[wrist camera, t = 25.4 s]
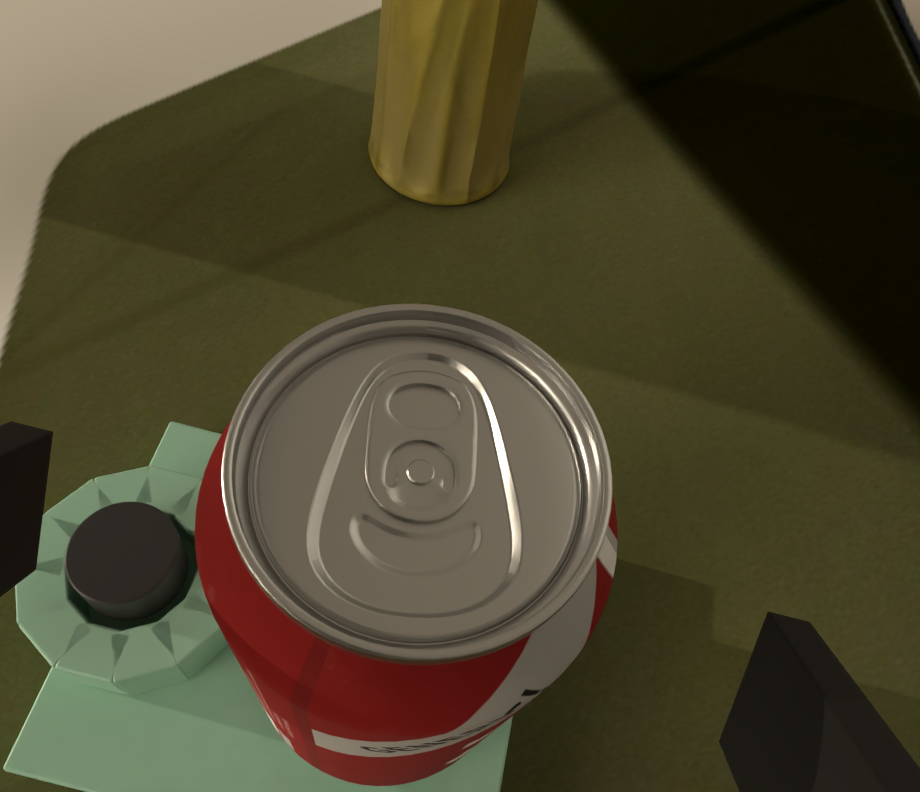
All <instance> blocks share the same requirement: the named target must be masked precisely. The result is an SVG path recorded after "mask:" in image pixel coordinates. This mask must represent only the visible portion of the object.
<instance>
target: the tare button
mask: <svg viewBox="0 0 920 792" xmlns="http://www.w3.org/2000/svg"><path fill="white" fill-rule="evenodd" d="M188 564H189V562H188V554H187V550H186V548H185V545H184V543H183V541H182V540H181V538H180V536H179V534H178V532H177V530H176V528H175V526H174V524H173V523H172V521H171V520H170V519H169V517H168V516H167V515H166V514H165V513H164V512H162V511H161V510H159V509H158V508H156V507H154V506H152V505H149V504H146V503H141V502H120V503H115V504H112V505H109V506H106V507H103V508H101V509H99V510H98V511H96V512H94V513H93V514H91V515H90V516H89V517H87V518H86V519H85V520H84V521H83V522H82V523H81V524H80V525H79V526H78V527H77V529H76V530H75V531H74V533H73V535H72V536H71V538H70V540H69V543H68V545H67V549H66V552H65V571H66V575H67V578H68V580H69V582H70V584H71V585H72V587H73V588H74V589H75V590H76V591H77V592H78V593H79V594H80V595H81V596H82V597H83V598H84V599H85V600H86V601H87V602H88V603H89V604H90V605H91V606H92V607H93V608H94V609H95V610H96V611H98V612H99V613H100V614H102V615H104V616H106V617H109V618H112V619H116V620H126V621H128V620H137V619H142V618H145V617H148V616H150V615H153V614H155V613H157V612H158V611H160V610H162V609H163V608H164V607H166V606H167V605H168V604H169V603H170V602H171V601H172V600H173V599H174V598H175V597H176V596H177V595H178V593H179V592H180V590H181V589H182V587H183V585H184V582H185V580H186V577H187V573H188Z"/></svg>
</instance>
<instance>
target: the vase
mask: <svg viewBox="0 0 920 792" xmlns="http://www.w3.org/2000/svg"><path fill="white" fill-rule="evenodd" d="M537 1H538V0H382V8H381V21H380V35H379V49H378V65H377V77H376V87H375V97H374V108H373V119H372V130H371V135H370V139H369V142H368V150H369V155H370V158H371V162H372V164H373V166H374V169H375V170H376V172H377V174H378V175H379V176H380V177H381V178H382V180H383V181H384V182H386V183H387V184H388V185H389V186H390V187H391V188H393V189H394V190H395V191H397V192H398V193H400V194H402V195H404V196H406V197H409V198H411V199H414V200H416V201H420V202H423V203H428V204H433V205H461V204H467V203H470V202H474V201H476V200H479V199H481V198H484V197H486V196H487V195H489V194H490V193H492V192H493V191H494V190H495V189H497V188H498V186H499V185H500V184H501V183H502V181H503V180H504V178H505V177H506V175H507V172H508V170H509V153H510V147H511V142H512V137H513V131H514V126H515V121H516V116H517V112H518V106H519V101H520V95H521V90H522V83H523V77H524V70H525V63H526V57H527V51H528V46H529V41H530V36H531V32H532V27H533V23H534V18H535V13H536V7H537Z"/></svg>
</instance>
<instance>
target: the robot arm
mask: <svg viewBox="0 0 920 792" xmlns="http://www.w3.org/2000/svg"><path fill="white" fill-rule="evenodd" d="M52 435H53V432H51V431H47V430H43V429H39V428H35V427H31V426H27V425H23V424H20V423H16V422H12V421H11V422H9V423H6V424H4V425H1V426H0V597H1V596H2V595H3V594H5V593H6V592H7V591H9V590H10V589H11V588H13V587H14V586H15V585H17V584H18V583H19V582H21V581H22V580H23V579H25V578H26V577H27V576H28V575H30V574H31V573H32V572H34V571H35V570H36V566H37V558H38V550H39V542H40V534H41V525H42V517H43V509H44V501H45V493H46V484H47V476H48V468H49V460H50V452H51V443H52ZM719 743H720V745H721V747H722V750H723V752H724V755H725V757H726V760H727V762H728V765H729V767H730V770H731V772H732V774H733V777H734V779H735V782H736V784H737V787H738V789H739V792H920V768H919V767H918V766H917V764H916V763H915V762H914V760H913V759H912V758H911V756H910V755H909V754H908V752H907V751H906V750H905V748H904V747H903V746H902V744H901V743H900V742H899V740H898V739H897V738H896V736H895V735H894V734H893V732H892V731H891V730H890V728H889V727H888V726H887V724H886V723H885V722H884V720H883V719H882V718H881V716H880V715H879V714H878V712H877V711H876V710H875V708H874V707H873V706H872V704H871V703H870V702H869V700H868V699H867V698H866V696H865V695H864V694H863V692H862V691H861V690H860V688H859V687H858V686H857V684H856V683H855V682H854V680H853V679H852V678H851V676H850V675H849V674H848V672H847V671H846V670H845V668H844V667H843V666H842V664H841V663H840V662H839V660H838V659H837V658H836V656H835V655H834V654H833V652H832V651H831V650H830V649H829V647H828V646H827V645H826V643H825V642H824V641H823V639H822V638H821V637H820V635H819V634H818V633H817V631H816V630H815V629H814V627H813V626H812V625H811V623H810V622H807V621H803V620H799V619H795V618H791V617H787V616H783V615H779V614H775V613H772V612H768V613H767V615H766V618H765V621H764V623H763V626H762V629H761V631H760V634H759V637H758V639H757V642H756V645H755V647H754V650H753V653H752V655H751V658H750V661H749V663H748V666H747V669H746V671H745V674H744V677H743V679H742V682H741V684H740V687H739V690H738V692H737V695H736V698H735V700H734V703H733V706H732V708H731V711H730V714H729V716H728V719H727V722H726V724H725V727H724V730H723V732H722V735H721V738H720V740H719Z"/></svg>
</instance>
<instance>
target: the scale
mask: <svg viewBox="0 0 920 792" xmlns="http://www.w3.org/2000/svg"><path fill="white" fill-rule="evenodd" d="M221 435H222V434H219V433H215V432H211V431H207V430H203V429H200V428H196V427H192V426H188V425H184V424H180V423H176V422H170V423H169V425H168V427H167V429H166V431H165V434H164V436H163V438H162V440H161V442H160V444H159V446H158V448H157V450H156V452H155V454H154V456H153V458H152V460H151V462H150V465H149V467H143V468H138V469H133V470H128V471H124V472H119V473H114V474H110V475H105V476H100V477H96V478H95V480H94V479H91V480H90V481H88V482H87V483H86V484H84V485H83V486H81V487H80V488H79V489H77V490H76V491H75V492H73V493H72V494H70V495H69V496H68V497H66V498H65V499H64V500H62V501H61V502H59V503H58V504H57V505H55V506H54V507H52V508H51V509H50V510H48V511H47V512H46V513H45V514H43V517H42V525H41V534H40V542H39V550H38V558H37V566H36V570H35V571H34V572H32V573H31V574H30V575H28V576H27V577H26V578H25V579H23V580H22V581H21V582H19V583H18V584H17V585H15V591H16V615H17V623H18V624H19V628H20V629H21V630H22V631H23V632H24V634H25V635H26V636H27V637H28V638H29V640H30V641H31V642H32V643H33V645H34V646H35V647H36V648H37V649H38V651H39V652H40V653H41V654H42V655H43V657H44V658H45V659H46V660H47V661H48V663H49V664H50V665H51V666H52V667H51V669H50V672H49V674H48V676H47V678H46V680H45V682H44V684H43V686H42V688H41V690H40V692H39V694H38V696H37V698H36V701H35V703H34V705H33V707H32V709H31V711H30V713H29V715H28V717H27V719H26V721H25V723H24V725H23V727H22V729H21V732H20V734H19V736H18V738H17V740H16V742H15V744H14V746H13V748H12V750H11V752H10V754H9V756H8V758H7V761H6V763H5V765H4V768H3V769H4V770H5V771H6V772H10V773H14V774H18V775H22V776H26V777H30V778H34V779H38V780H42V781H45V782H49V783H53V784H57V785H61V786H65V787H69V788H73V789H77V790H81V791H84V792H500V789H501V783H502V777H503V771H504V766H505V760H506V754H507V748H508V742H509V736H510V730H511V724H512V718H513V716H512V717H511V718H509V719H508V720H507V721H506V722H504V723H503V724H502V725H501V726H500V727H498V728H497V729H496V730H495V731H493V732H492V733H491V734H490V735H489V736H487V737H486V738H485V739H484V740H482V741H481V742H480V743H479V744H478V745H476V746H475V747H474V748H473V749H471V750H470V751H469V752H468V753H467V754H465V755H464V756H463V757H461V758H460V759H459V760H458V761H456V762H455V763H454V764H452V765H450V766H449V767H447V768H445V769H444V770H442V771H440V772H438V773H436V774H434V775H432V776H430V777H427V778H424V779H421V780H419V781H416V782H411V783H407V784H403V785H395V786H366V785H359V784H354V783H349V782H346V781H343V780H340V779H337V778H334V777H332V776H330V775H328V774H325V773H323V772H321V771H320V770H318V769H316V768H315V767H313V766H311V765H310V764H309V763H307V762H306V761H305V760H303V759H302V758H301V757H300V756H299V755H297V754H296V753H295V752H294V751H293V750H292V749H291V748H290V747H289V746H288V744H287V743H286V742H285V741H284V740H283V739H282V737H281V736H280V735H279V733H278V732H277V730H276V729H275V727H274V726H273V724H272V722H271V720H270V718H269V717H268V715H267V713H266V711H265V709H264V708H263V706H262V704H261V702H260V700H259V699H258V697H257V695H256V693H255V691H254V690H253V688H252V686H251V684H250V682H249V680H248V679H247V677H246V675H245V673H244V671H243V670H242V668H241V666H240V664H239V662H238V661H237V659H236V657H235V655H234V653H233V652H232V650H231V648H230V646H229V644H228V642H227V641H226V639H225V637H224V635H223V633H222V631H221V630H220V628H219V626H218V624H217V622H216V620H215V618H214V616H213V614H212V612H211V609H210V607H209V604H208V602H207V599H206V597H205V594H204V590H203V587H202V583H201V579H200V576H199V571H198V564H197V558H196V550H195V516H196V507H197V501H198V495H199V490H200V486H201V483H202V479H203V475H204V472H205V469H206V467H207V464H208V462H209V459H210V456H211V454H212V452H213V450H214V448H215V446H216V444H217V442H218V440H219V438H220V436H221ZM120 502H141V503H146V504H149V505H152V506H154V507H156V508H158V509H159V510H161V511H162V512H164V513H165V514H166V515H167V516H168V517H169V519H170V520H171V521H172V523H173V524H174V526H175V528H176V530H177V532H178V534H179V536H180V538H181V540H182V541H183V543H184V545H185V548H186V550H187V554H188V562H189V564H188V573H187V577H186V580H185V582H184V585H183V587H182V589H181V590H180V592H179V593H178V595H177V596H176V597H175V598H174V599H173V600H172V601H171V602H170V603H169V604H168V605H167V606H166V607H164V608H163V609H162V610H160V611H158V612H157V613H155V614H153V615H150V616H148V617H145V618H142V619H137V620H128V621H126V620H116V619H112V618H109V617H106V616H104V615H102V614H100V613H99V612H98V611H96V610H95V609H94V608H93V607H92V606H91V605H90V604H89V603H88V602H87V601H86V600H85V599H84V598H83V597H82V596H81V595H80V594H79V593H78V592H77V591H76V590H75V589H74V588H73V587H72V585H71V584H70V582H69V580H68V578H67V575H66V571H65V552H66V549H67V545H68V543H69V540H70V538H71V536H72V535H73V533H74V531H75V530H76V529H77V527H78V526H79V525H80V524H81V523H82V522H83V521H84V520H85V519H86V518H87V517H89V516H90V515H91V514H93V513H94V512H96V511H98V510H99V509H101V508H103V507H106V506H109V505H112V504H115V503H120Z"/></svg>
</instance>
